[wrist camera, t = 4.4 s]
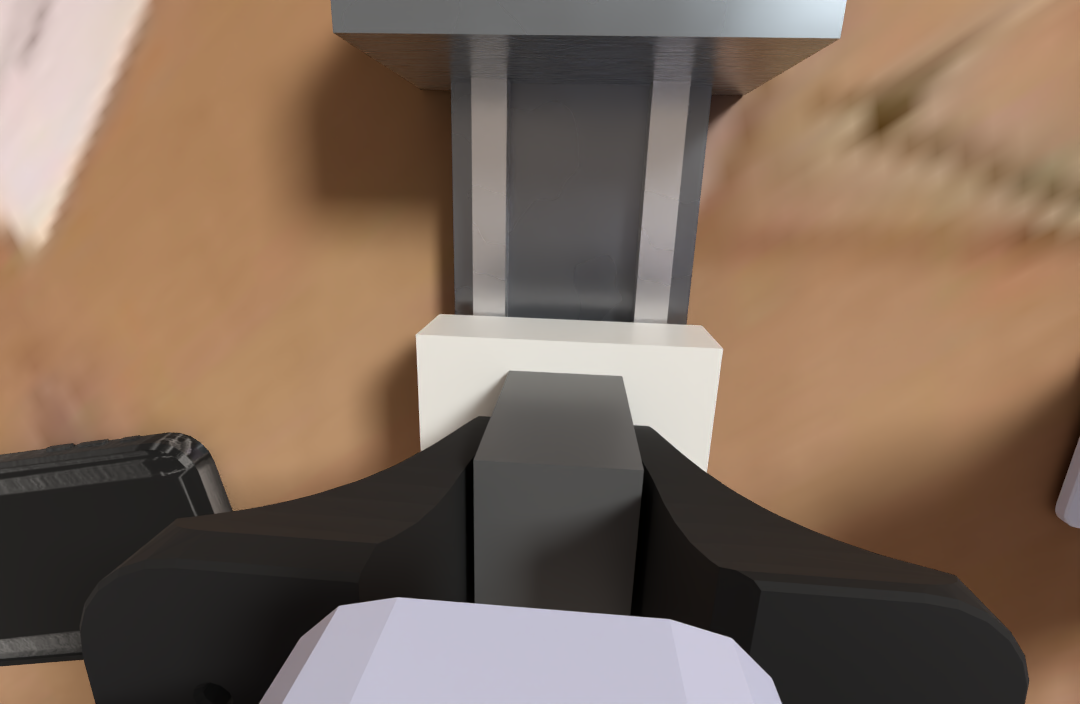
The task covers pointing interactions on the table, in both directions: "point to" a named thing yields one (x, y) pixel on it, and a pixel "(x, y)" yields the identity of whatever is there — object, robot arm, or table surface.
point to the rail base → (582, 134)
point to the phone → (86, 528)
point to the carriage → (563, 443)
